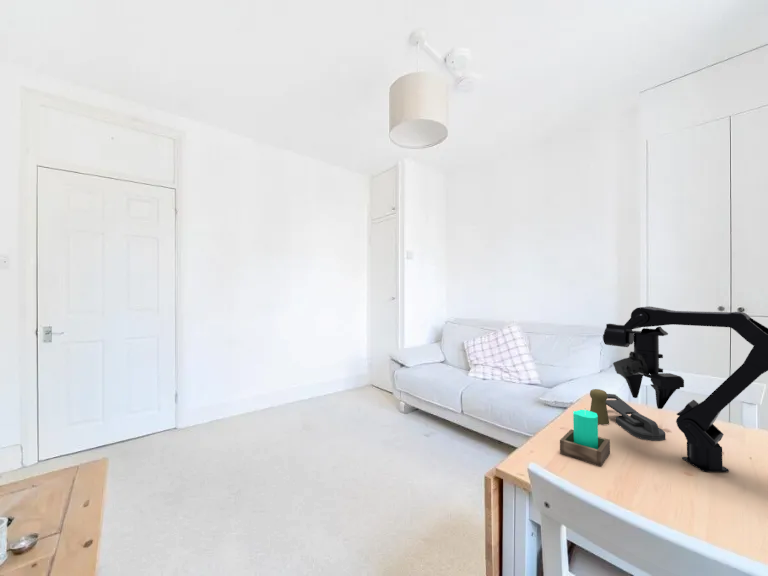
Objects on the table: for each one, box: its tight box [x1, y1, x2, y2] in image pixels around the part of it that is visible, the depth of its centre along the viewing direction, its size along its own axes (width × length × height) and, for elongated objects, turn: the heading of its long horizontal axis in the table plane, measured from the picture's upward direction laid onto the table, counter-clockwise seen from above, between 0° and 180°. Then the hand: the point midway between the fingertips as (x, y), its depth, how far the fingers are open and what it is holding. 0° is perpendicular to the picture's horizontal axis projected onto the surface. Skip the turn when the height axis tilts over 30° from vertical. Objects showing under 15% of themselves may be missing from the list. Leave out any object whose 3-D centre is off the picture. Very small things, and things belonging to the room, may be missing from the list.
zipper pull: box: [606, 393, 666, 442], centre depth 113 cm, size 9×7×25 cm
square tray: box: [559, 428, 611, 467], centre depth 94 cm, size 10×10×4 cm
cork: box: [589, 388, 610, 425], centre depth 116 cm, size 6×6×11 cm
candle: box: [572, 409, 599, 450], centre depth 94 cm, size 6×6×12 cm
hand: (646, 402), depth 97 cm, fingers open, 9 cm apart
